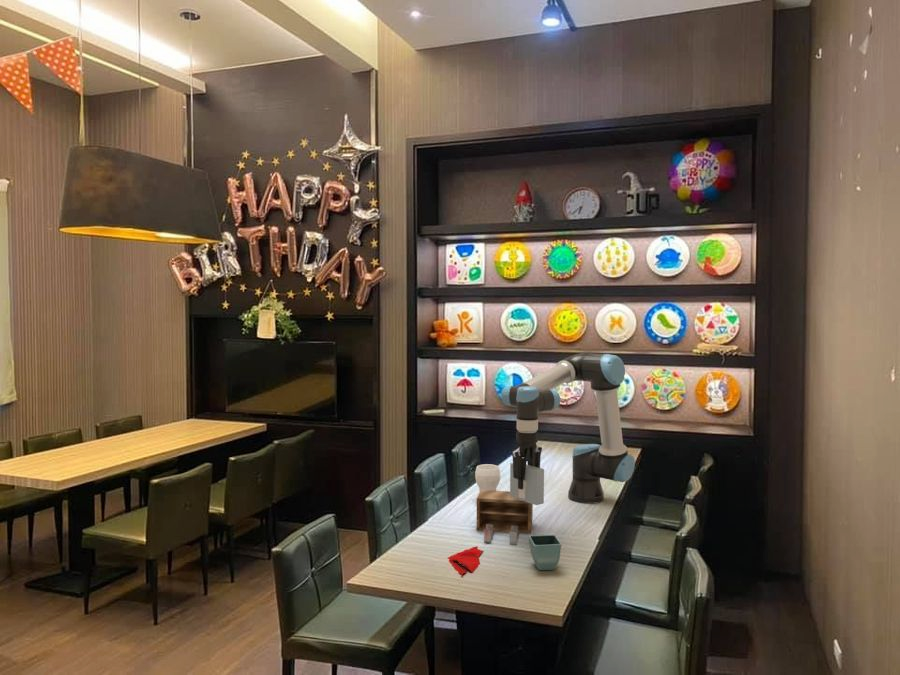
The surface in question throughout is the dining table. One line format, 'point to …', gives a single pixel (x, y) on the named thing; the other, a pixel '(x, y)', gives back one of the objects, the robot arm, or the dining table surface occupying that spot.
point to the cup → (487, 477)
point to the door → (529, 485)
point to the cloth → (466, 560)
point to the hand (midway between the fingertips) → (526, 496)
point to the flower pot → (545, 551)
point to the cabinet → (503, 512)
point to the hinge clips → (490, 532)
